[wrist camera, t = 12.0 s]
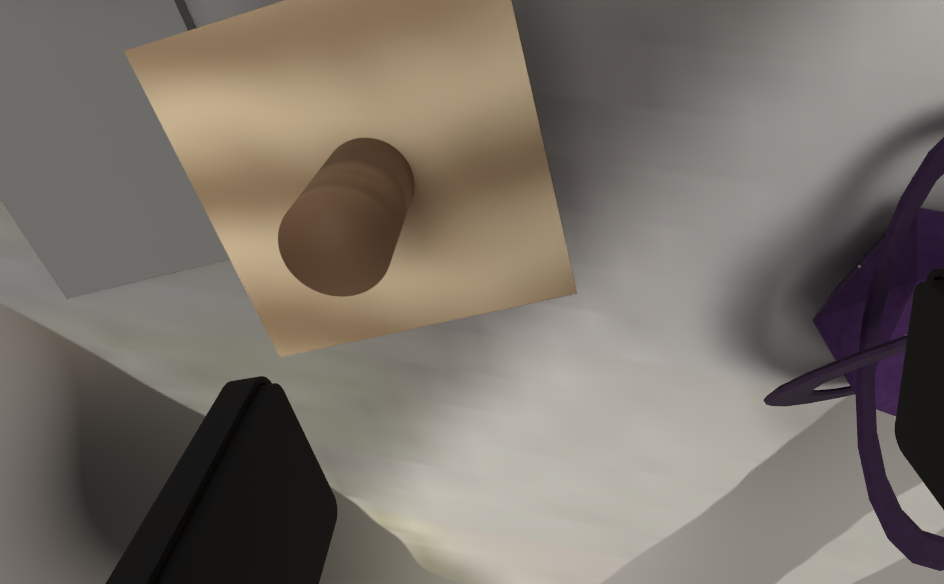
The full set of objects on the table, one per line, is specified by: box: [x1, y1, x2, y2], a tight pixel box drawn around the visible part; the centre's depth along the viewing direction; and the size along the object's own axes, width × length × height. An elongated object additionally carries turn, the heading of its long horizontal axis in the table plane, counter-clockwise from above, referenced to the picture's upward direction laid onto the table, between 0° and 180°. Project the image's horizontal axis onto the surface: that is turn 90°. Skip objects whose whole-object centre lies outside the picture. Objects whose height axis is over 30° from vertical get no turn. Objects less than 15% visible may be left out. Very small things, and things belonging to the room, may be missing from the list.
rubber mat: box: [0, 0, 230, 299], centre depth 37 cm, size 18×16×1 cm
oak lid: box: [124, 0, 577, 357], centre depth 23 cm, size 14×14×7 cm
